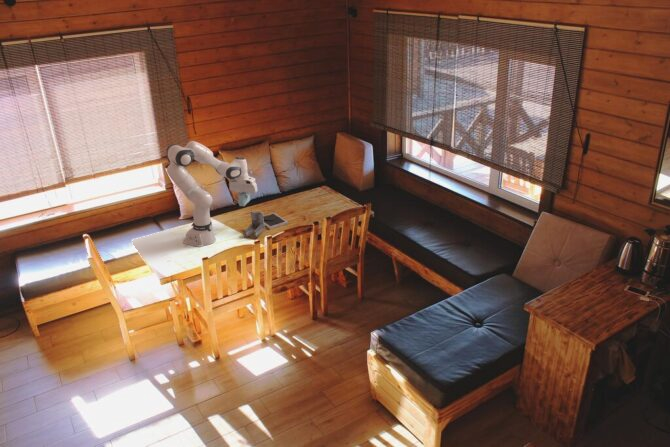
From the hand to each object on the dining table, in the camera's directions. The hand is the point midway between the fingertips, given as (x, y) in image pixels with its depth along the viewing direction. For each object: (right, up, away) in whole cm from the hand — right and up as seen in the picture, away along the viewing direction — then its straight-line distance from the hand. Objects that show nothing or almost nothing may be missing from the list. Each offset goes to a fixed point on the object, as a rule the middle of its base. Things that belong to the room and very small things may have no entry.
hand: (244, 197), depth 408 cm
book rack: (+7, -25, -1) cm, 26 cm away
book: (0, -4, +2) cm, 4 cm away
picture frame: (+18, -18, +16) cm, 30 cm away
